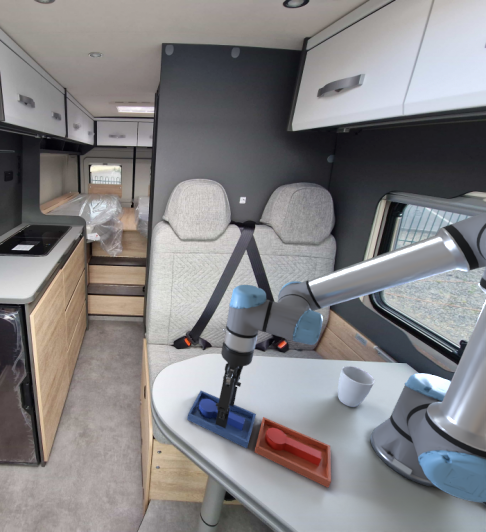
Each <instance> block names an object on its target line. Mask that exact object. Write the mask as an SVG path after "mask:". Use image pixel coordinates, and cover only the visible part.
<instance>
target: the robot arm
mask: <svg viewBox="0 0 486 532" xmlns="http://www.w3.org/2000/svg"><path fill="white" fill-rule="evenodd" d="M480 268H484V270H483V272H482V275H481V278H480V280H479V283H478V287H479V289H480V290H482V291H483V292H484V294H485V295H486V211H484V212H482V213H481V212H480V213H479V214H475V215H473V216H470V217H466V218H464V219H461V220H459V221H456V222H453V223H451V224H448V225H444V226H442V227H440V228H438V230H437V232H436V234H434V235H433V236H429V237H427V238H423V239H421V240H418V241H416V242H413V243H410V244H406V245H405V246H401V247H399V248H396V249H393V250H390V251H387V252H383V253H382V254H379V255H376V256H374V257H371V258H367V259H366V260H365V259H364V260H362V261H360V262H357V263H353V264H351V265H347V266H345V267H343V268H340V269H336V270H334V271H331V272H328V273H326V274H322V275H321V276H320V275H319V276H317V277H314V278H311V279H308V280H305V281H298V280H297V281H295V280H293V281H288V282H286V283H285V284H284V285H282V287H281V289H280V290H279V292H278V296H277V301H274V300H270V299H267V293H266V291H265V290H264V289H262V288H261V287H257V286H256V285H251V284H239V285H237V286H234V288H233V289H232V293H231V298H230V302H229V303H228V304H229V306H228V312H227V318H226V323H225V327H224V328H223V329H222V332H223V333H224V337H223V342H222V346H221V351H220V353H221V354H220V355H221V357H222V358H223V360H224V361H226V362H227V363H225V366H224V375H223V377H222V385H221V389H220V394H219V397H218V398H219V403H216V406H217V410H218V413H217V418H216V423H215V424H216V425H219V426H221V427H223V428H225V429H226V425H227V420H228V415H229V411H230V407H229V406H232V407H233V406H234V405H235V402H236V396H237V392H238V388H240V387H241V385H242V383H241V382H239V381H240V380H241V374H242V371H243V369H244V367H246V366H250V364H252V362H253V357H254V352H255V349H256V345H257V340H258V336H259V332H262V333H266V334H270V335H272V336H276V337H278V338H283V339H285V340H289V341H292V342H294V343H300V344H305V345H310V346H314V345H315V344H317V343H318V341H319V339H320V335H321V332H322V327H323V321H324V318H323V315H322V313H320V312H318V311H317V310H321V309H324V308H327V307H331V306H334V305H338V304H340V303H341V304H342V303H345V302H348V301H351V300H354V299H358V298H361V297H362V298H363V297H365V296H368V295H372V294H374V293H378V292H382V291H386V290H388V289H391V288H396V287H399V286H403V285H406V284H409V283H413V282H416V281H419V280H424V279H426V278H430V277H433V276H436V275H441V274H444V273H447V272H451V271H454V270H459V271H463V272H470V271H473V270H477V269H480ZM369 441H370V444H371V447H372V448H373V450H374V452H375V453H376V455H377V456H378V457H379V458H380V459H381V461H383V463H385V464H386V465H387V466H388V467H389V468H391V470H394V472H396V473H398V474H400V475H401V476H402V477H404V478H406V479H408V480H411V481H412V482H415V483H416V484H417V483H418V484H420V485H423V486H427V487H435V488H438V489H439V490H441V491H442V492H444V493H446V494H448V495H450V496H453V497H455V498H458V499H461V500H464V501H469V502H474V503H483V505H485V506H486V300H485V302H484V304H483V305H482V309H481V311H480V313H479V315H478V318H477V320H476V322H475V324H474V327H473V330H472V332H471V334H470V336H469V339H468V341H467V344H466V346H465V348H464V350H463V353H462V355H461V357H460V360H459V362H458V364H457V366H456V369H455V372H454V374H453V376H452V379H451V380H448V379H445V378H443V377H440V376H437V375H432V374H430V373H420V372H419V373H413V374H411V375H410V376H409V377H408V379H407V380H406V382H404V386H403V389H402V391H401V392H400V395H399V397H398V399H397V401H396V403H395V405H394V408H393V410H392V412H391V415H390V416H389V417H388V418H387V419H385V421H382V423H380V424H379V425H377V426H376V427H375V428H374V429H373V430H372V433H371V434H370V440H369Z"/></svg>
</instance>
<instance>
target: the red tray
mask: <svg viewBox="0 0 486 532" xmlns="http://www.w3.org/2000/svg"><path fill="white" fill-rule="evenodd" d="M269 428H277V429H279V430H281V431H282V432H283V433H284V434H285V435H286V437H288V438H291V439H293V440H295V441H297V442H300V443H302V444H304V445H306V446H309V447H311V448H313V449H316V450H318V451H320V452H321V461H320V464H319V466H317V465H315V464H313V463H311V462H309V461H307V460H305V459H302V458H300V457H298V456H296V455H294V454H292V453H289V452H287V451H285V450H281V451H277V450H274V449H272V448H270V447H269V446H268V445H267V443H266V441H265V436H266V432H267V430H268V429H269ZM257 435H258V436H257V439H256V444H255V447H254V453H256V454H257V455H259V456H261V457H263V458H266V459H268V460H269V461H272V462H274V463H276V464H277V465H280V466H282V467H284V468H286V469H288V470H291V471H292V472H294V473H296V474H298V475H301V476H303V477H305V478H307V479H308V480H311V481H313V482H315V483H317V484H320V485H321V486H323V487H326V488H328V489H329V488H330V485H331V483H332V462H331V461H332V458H331V456H332V454H331V451H332V450H331V445H330V444H327V443H326V442H324V441H320V440H318V439H316V438H313V437H311V436H309V435H307V434H304V433H302V432H300V431H298V430H294V429H292V428H290V427H288V426H285V425H284V424H281V423H278V422H276V421H274V420H271V419H270V418H266V417H264V416H263V417H262V418H261V423H260V427H259V432H258V434H257Z"/></svg>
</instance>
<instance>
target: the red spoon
mask: <svg viewBox="0 0 486 532" xmlns="http://www.w3.org/2000/svg"><path fill="white" fill-rule="evenodd" d="M265 441H266V443H267V445H268V446H269V447H270V448H272V449H274V450H277V451H281V450H285V451H287V452H289V453H292V454H294V455H296V456H298V457H300V458H302V459H305V460H307V461H309V462H311V463H313V464H315V465H317V466H319V464H320V461H321V452H320V451H318V450H316V449H313V448H311V447H309V446H306V445H304V444H302V443H300V442H297V441H295V440H293V439H291V438H288V437H286V435H285V434H284V433H283V432H282V431H281V430H279V429H277V428H269V429H268V430H267V432H266V436H265Z"/></svg>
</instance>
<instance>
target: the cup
mask: <svg viewBox="0 0 486 532" xmlns="http://www.w3.org/2000/svg"><path fill="white" fill-rule="evenodd" d="M375 381H376V380H375V378H374V376H373V375H372V374H370V373H369V372H368V371H366V370H364V369H362V368H360V367H357V366H353V365H344V366H343V367H342V368H341V370H340V375H339V378H338V384H337V396H338V399H339V400H338V401H340V402H341V403H342V404H343V405H345V406H347V407H349V408H356V407H358V406H359V405H361V403H362V402H363V401H364V400H365V399H366V398H367V397H368V395H369V393H370V392H371V389H372V388H373V386H374V384H375V383H376V382H375Z"/></svg>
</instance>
